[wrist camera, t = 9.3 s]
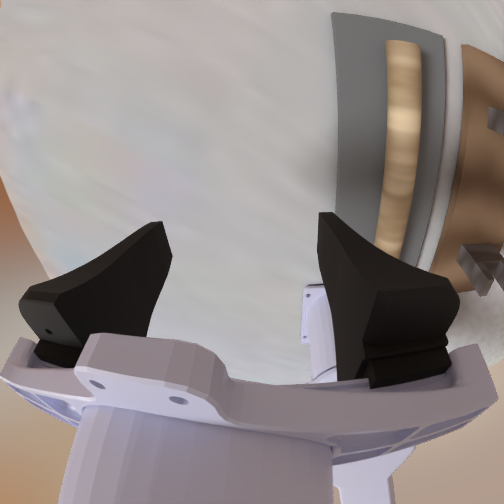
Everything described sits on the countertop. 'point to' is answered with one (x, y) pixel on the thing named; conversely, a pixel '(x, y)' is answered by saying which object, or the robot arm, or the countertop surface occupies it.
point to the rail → (400, 143)
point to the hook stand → (476, 182)
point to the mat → (383, 123)
